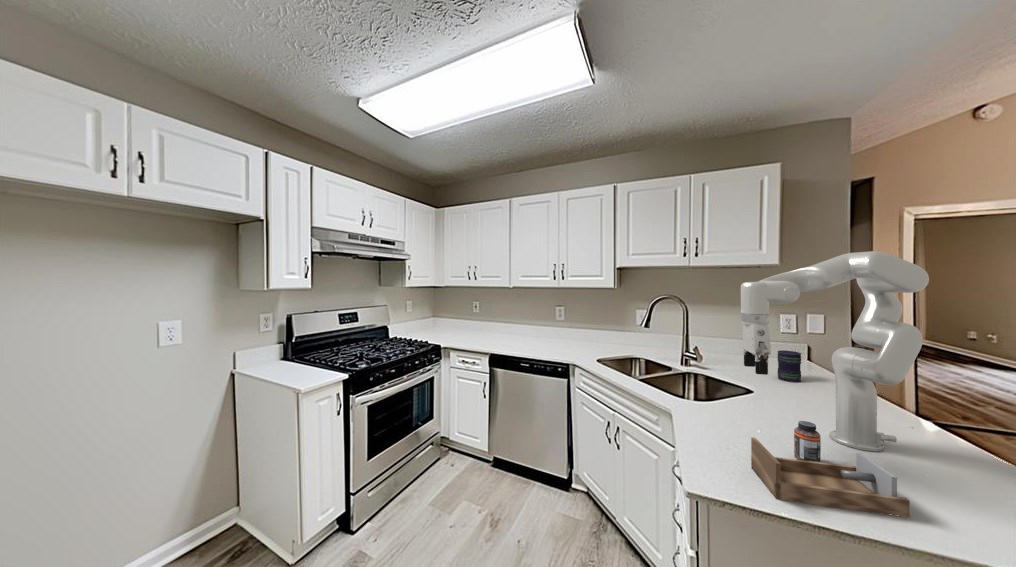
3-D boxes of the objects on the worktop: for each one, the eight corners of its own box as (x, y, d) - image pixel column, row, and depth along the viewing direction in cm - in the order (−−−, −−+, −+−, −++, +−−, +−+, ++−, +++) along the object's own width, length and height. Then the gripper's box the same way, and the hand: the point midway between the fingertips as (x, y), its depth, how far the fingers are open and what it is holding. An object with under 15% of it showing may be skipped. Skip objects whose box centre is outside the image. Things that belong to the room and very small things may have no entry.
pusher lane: (862, 481, 89) (862, 448, 89) (909, 517, 76) (909, 478, 76) (751, 468, 96) (751, 437, 96) (775, 498, 83) (775, 463, 83)
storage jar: (799, 383, 172) (799, 355, 171) (775, 379, 179) (775, 352, 179) (803, 380, 178) (803, 352, 178) (779, 376, 185) (779, 349, 185)
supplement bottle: (793, 453, 104) (793, 417, 104) (819, 459, 101) (819, 422, 100) (794, 461, 100) (794, 423, 100) (821, 468, 96) (821, 429, 96)
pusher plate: (860, 479, 88) (860, 453, 88) (897, 507, 78) (897, 477, 77) (828, 475, 90) (828, 449, 90) (859, 502, 79) (859, 473, 79)
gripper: (780, 322, 101) (781, 378, 101) (757, 316, 117) (757, 364, 117) (751, 322, 103) (752, 376, 103) (732, 315, 119) (733, 363, 119)
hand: (755, 370), depth 110 cm, fingers open, 9 cm apart
